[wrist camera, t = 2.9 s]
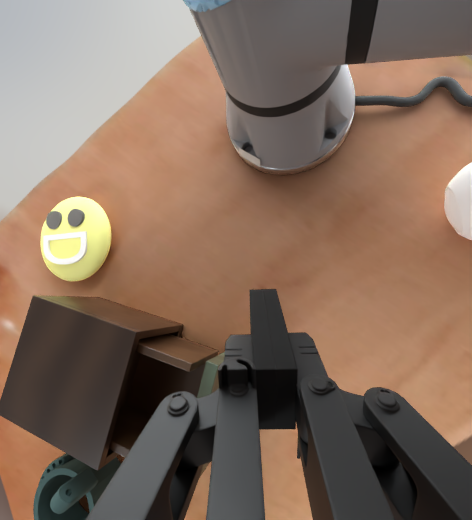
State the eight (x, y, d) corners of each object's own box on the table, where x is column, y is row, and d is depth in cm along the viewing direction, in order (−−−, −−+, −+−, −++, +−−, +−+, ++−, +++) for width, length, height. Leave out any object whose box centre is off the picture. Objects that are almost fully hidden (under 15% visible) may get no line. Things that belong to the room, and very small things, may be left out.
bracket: (128, 447, 35) (67, 493, 26) (123, 531, 33) (56, 609, 25) (71, 437, 37) (-2, 475, 29) (64, 515, 36) (-16, 580, 27)
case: (183, 324, 35) (136, 332, 26) (156, 426, 34) (97, 471, 25) (99, 297, 39) (32, 295, 30) (72, 387, 38) (-5, 413, 29)
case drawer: (251, 354, 31) (231, 369, 24) (226, 458, 30) (196, 508, 23) (149, 320, 35) (105, 324, 28) (124, 410, 35) (71, 440, 27)
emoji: (99, 279, 35) (99, 187, 36) (28, 283, 39) (30, 198, 40) (120, 279, 39) (120, 195, 40) (54, 283, 42) (55, 205, 44)
